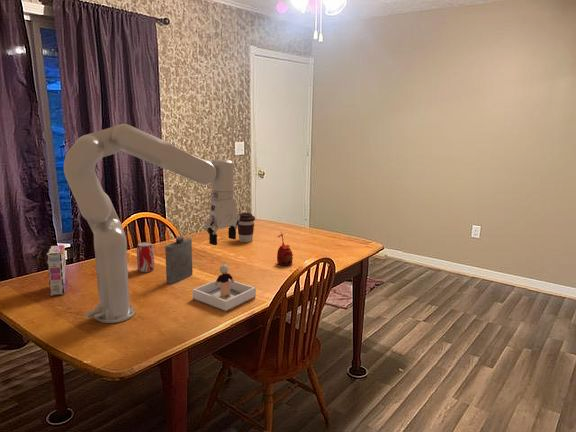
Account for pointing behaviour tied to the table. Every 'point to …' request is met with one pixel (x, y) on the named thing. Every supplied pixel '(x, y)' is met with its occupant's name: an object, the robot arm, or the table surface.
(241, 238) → the coffee cup
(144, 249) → the soda can
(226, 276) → the grandmother figurine
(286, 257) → the dark red rounded piece
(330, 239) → the table surface
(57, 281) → the candy bar box
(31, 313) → the table surface
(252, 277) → the table surface
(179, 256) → the flask
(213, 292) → the shadow box frame
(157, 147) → the robot arm
